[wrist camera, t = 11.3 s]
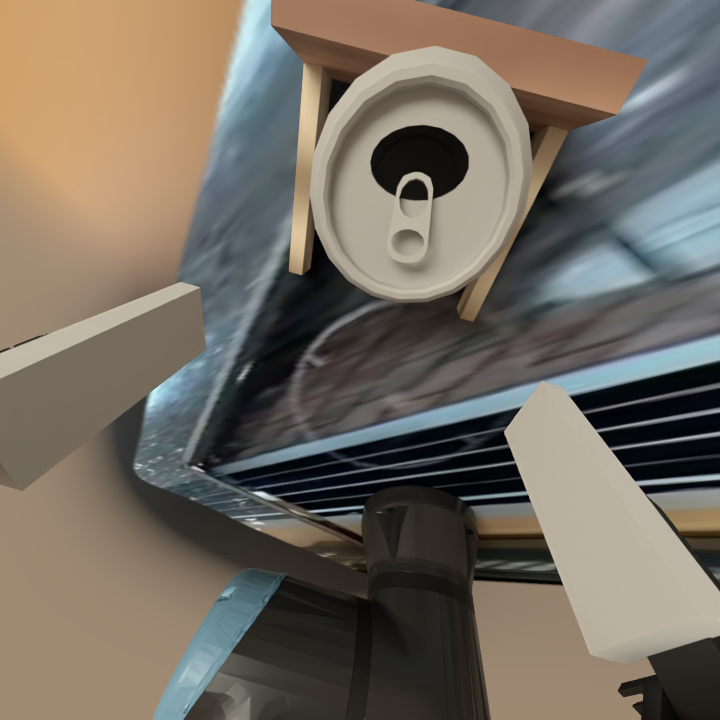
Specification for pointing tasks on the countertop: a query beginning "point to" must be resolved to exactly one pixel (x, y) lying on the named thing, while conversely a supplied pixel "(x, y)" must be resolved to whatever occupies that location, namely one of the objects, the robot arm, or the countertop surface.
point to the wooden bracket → (459, 33)
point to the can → (421, 175)
